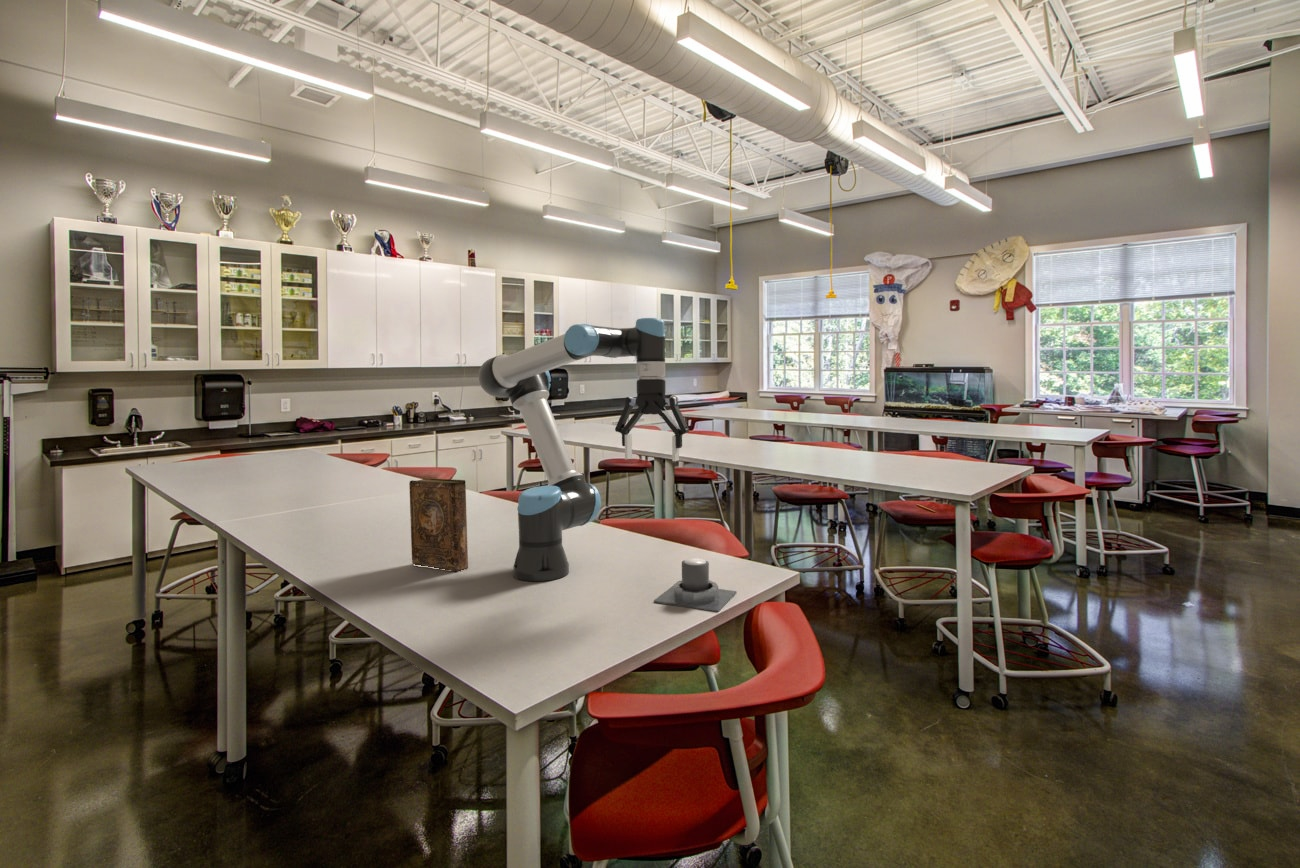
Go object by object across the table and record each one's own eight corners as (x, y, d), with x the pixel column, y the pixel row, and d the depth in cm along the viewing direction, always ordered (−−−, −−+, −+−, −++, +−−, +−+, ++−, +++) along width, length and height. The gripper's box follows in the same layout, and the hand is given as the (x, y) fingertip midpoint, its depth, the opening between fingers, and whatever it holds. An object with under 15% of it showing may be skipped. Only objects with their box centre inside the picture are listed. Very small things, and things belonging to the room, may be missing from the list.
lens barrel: (677, 597, 150) (677, 563, 149) (687, 589, 156) (687, 556, 155) (703, 601, 147) (703, 566, 147) (712, 592, 153) (712, 559, 153)
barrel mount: (653, 602, 149) (653, 589, 148) (676, 585, 161) (676, 573, 161) (718, 611, 142) (718, 599, 142) (736, 593, 155) (736, 581, 154)
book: (471, 567, 179) (468, 480, 177) (458, 572, 174) (455, 483, 172) (425, 561, 185) (422, 477, 183) (412, 566, 180) (408, 480, 178)
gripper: (601, 379, 165) (603, 459, 167) (690, 377, 155) (691, 463, 156) (615, 379, 172) (616, 456, 174) (701, 378, 161) (701, 460, 163)
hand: (651, 459), depth 165 cm, fingers open, 13 cm apart
